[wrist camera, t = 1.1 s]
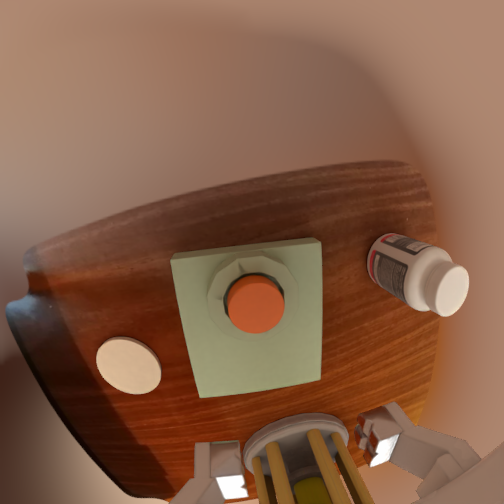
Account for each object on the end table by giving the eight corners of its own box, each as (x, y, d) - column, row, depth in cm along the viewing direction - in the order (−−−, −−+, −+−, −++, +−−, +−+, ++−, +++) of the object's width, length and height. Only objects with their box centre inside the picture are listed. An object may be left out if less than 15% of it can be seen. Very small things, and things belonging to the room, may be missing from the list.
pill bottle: (389, 292, 27) (449, 334, 18) (355, 269, 26) (416, 310, 17) (416, 249, 27) (482, 276, 17) (383, 221, 25) (454, 242, 16)
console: (173, 252, 24) (166, 266, 20) (312, 237, 25) (329, 246, 21) (200, 384, 27) (199, 410, 23) (314, 367, 28) (326, 390, 24)
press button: (224, 278, 21) (224, 286, 19) (277, 271, 21) (283, 278, 20) (230, 326, 22) (231, 337, 20) (280, 319, 22) (286, 329, 21)
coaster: (89, 337, 25) (87, 340, 24) (152, 334, 25) (151, 337, 25) (110, 390, 26) (109, 393, 26) (169, 390, 27) (168, 393, 26)
